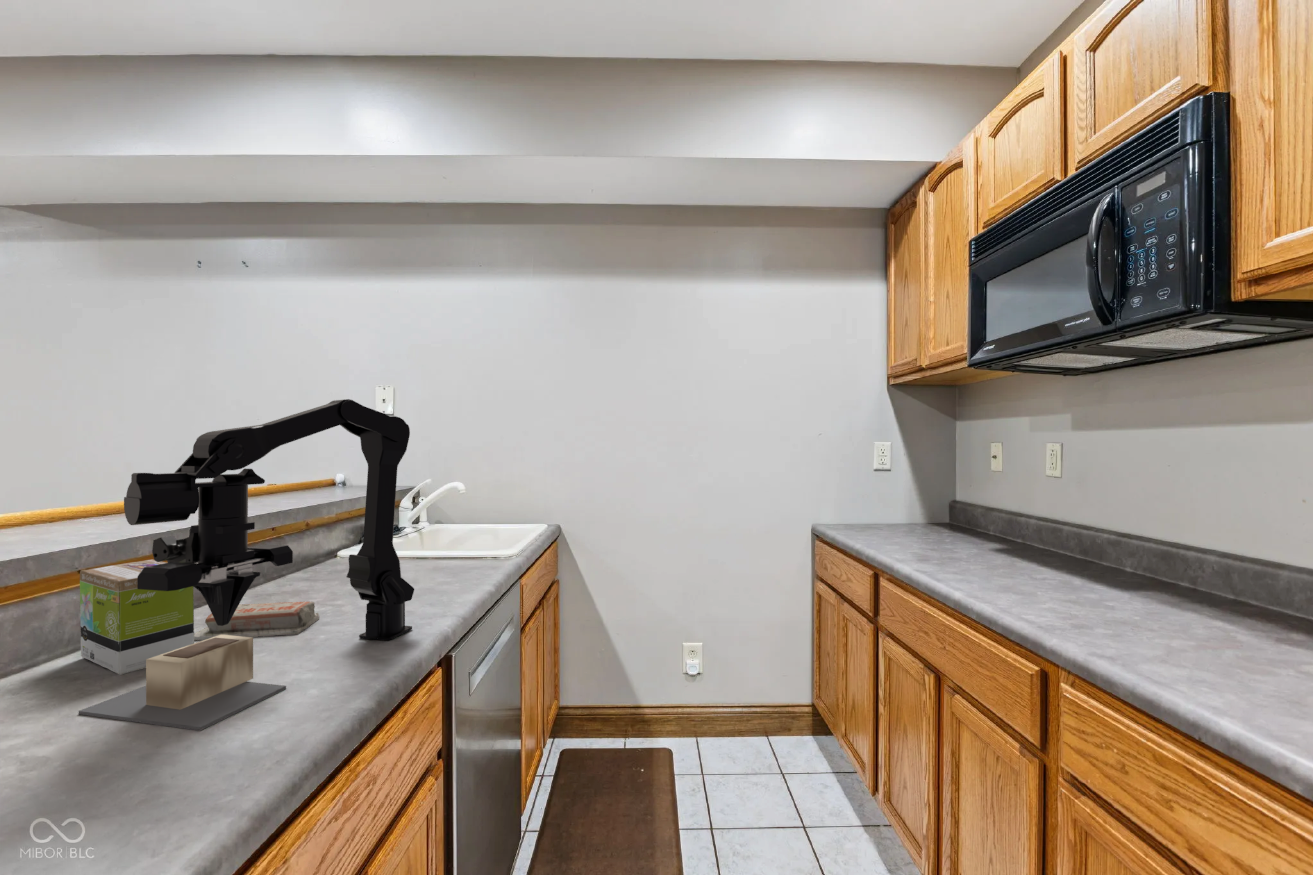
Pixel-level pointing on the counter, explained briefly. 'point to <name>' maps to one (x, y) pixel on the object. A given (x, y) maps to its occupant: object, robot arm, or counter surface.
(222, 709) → the rubber mat
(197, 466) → the robot arm
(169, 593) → the tea box
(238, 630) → the packaged product
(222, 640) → the birch block
